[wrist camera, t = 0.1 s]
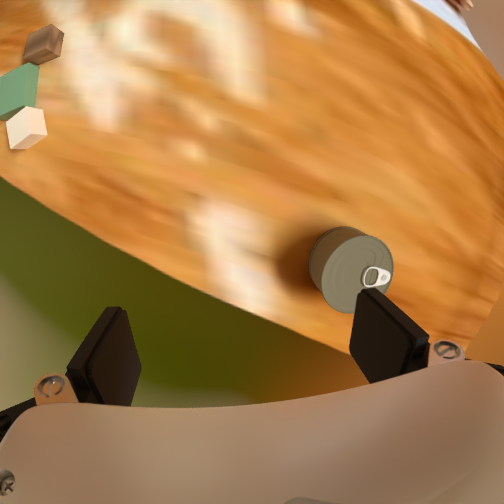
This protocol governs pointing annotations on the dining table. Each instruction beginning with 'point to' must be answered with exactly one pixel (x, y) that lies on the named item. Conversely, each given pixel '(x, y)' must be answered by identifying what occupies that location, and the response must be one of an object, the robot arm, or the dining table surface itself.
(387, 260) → the can
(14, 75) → the green base
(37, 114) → the cream cube
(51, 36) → the walnut cube
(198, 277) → the dining table surface
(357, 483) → the robot arm
